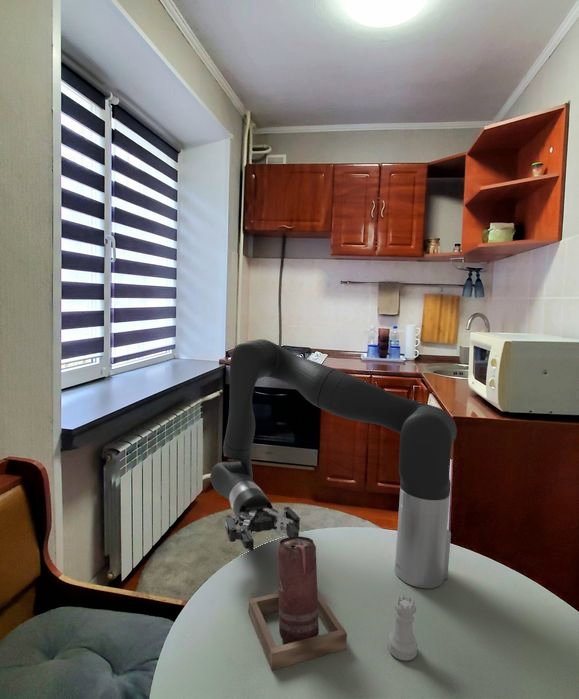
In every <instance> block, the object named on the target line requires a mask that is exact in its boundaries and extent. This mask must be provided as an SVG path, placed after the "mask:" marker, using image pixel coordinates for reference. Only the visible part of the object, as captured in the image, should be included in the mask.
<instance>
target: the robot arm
mask: <svg viewBox="0 0 579 699" xmlns="http://www.w3.org/2000/svg"><path fill="white" fill-rule="evenodd" d="M229 361H230V362H229V364H230V365H229V402H228V403H229V404H228V405H229V408H228V418H227V424H226V430H225V436H224V441H223V442H224V443H223V448H222V451H223V453H224V456H225V457H227V458H229V459H232V460H234V461H220V462H218V463H216V464H215V465H214V466H213V467H212V469H211V471H210V474H209V476H210V482H211V485H212V487H213V489H214V491H215V492H216V493H218V495H221V497H224V499H227V500H228V502H229V503H230V508H231V510H232V512H233V513H234V515H235V517H233V516H232V514H226V515H225V519H224V520H225V522H224V523H225V525H224V528H225V532H226V536H227V537H228V541H229V542H231V543H233V542H234V543H235V542H236V540H239V542H241V544H242V546H243V549H245V550H248V552H253V551H254V538H253V536H252V535H253V534H254V533H260V532H264V531H266V532H267V531H271V532H274V533H277V534H280V533H284V534H286V535H287V538H288V537H300V526H301V525H300V521H301V517H300V516H298V514H297V513H296V512H295V511H294V510H293V509H292V508H291V507H289V506H285V507H284V509H283V510H280V511H278V510H277V509H276V508H274V507H273V505H272V503H271V501H270V500H269V498H268V497H267V496H266V494H265V493H264V491H263V490H262V489H261V488H260V487H259V486H258V485H257V484H256V483H255V481H254V480H253V479H254V478H253V477H254V474H253V468H252V449H253V443H254V438H255V433H256V418H255V413H254V410H253V394H254V390H255V386H256V384H257V380H260V379H261V378H265V377H266V378H267V377H268V378H271V379H274V380H275V379H276V380H278V381H280V382H283V383H286V384H288V385H290V386H291V387H293V388H294V389H296V390H297V391H298V393H300V394H301V396H303V398H305V399H306V401H308V402H309V403H310V404H312V405H313V406H315V407H317V408H319V409H321V410H323V411H325V412H327V413H330V414H332V415H334V416H338V417H340V418H344V419H346V420H352V421H357V422H362V423H366V424H367V423H368V424H374V425H378V426H381V427H384V428H387V429H389V430H391V431H393V432H395V433H397V434H399V435H400V438H399V455H398V457H399V459H398V474H399V477H400V483H399V484H400V490H399V502H398V505H399V506H398V515H397V516H398V519H397V532H396V548H395V549H396V550H395V561H394V562H395V563H394V572H395V574H396V575H397V577H398V578H399V579H400V580H401V581H403V582H405V583H406V584H408V585H410V586H413V587H416V588H421V589H435V588H438V587H439V586H442V584H443V582H444V580H447V579H448V577H449V576H448V575H449V564H450V553H451V551H450V550H451V538H452V532H451V531H450V530H449V529H448V524H449V523H448V522H449V512H450V497H451V486H452V483H451V480H450V470H451V457H452V456H451V454H452V446H453V444H454V442H455V440H456V438H457V434H458V428H457V424H456V422H455V420H454V419H453V417H452V416H451V415H450V413H448V412H447V410H444V409H442V408H441V407H438V406H435V405H431V404H428V403H424V402H421V401H420V402H419V401H416V400H413V399H410V398H406V397H403V396H399V395H397V394H394V393H391V392H389V391H387V390H385V389H382V388H381V387H379V386H376V385H374V384H372V383H370V382H367V381H365V380H362V379H360V378H358V377H357V376H353V375H351V374H349V373H346V372H344V371H341V370H339V369H336V368H333V367H330V366H328V365H324V364H321V363H320V362H317V361H314V360H311V359H307V358H305V357H301V356H300V355H297V354H295V353H293V352H291V351H289V350H288V349H286V348H284V347H282V346H281V345H278V344H276V343H274V342H272V341H270V340H268V339H265V338H264V339H263V338H261V339H260V338H259V339H254V340H246V341H242V342H240V343H238V344H236V346H235V347H234V348H233V350H232V352H231V355H230V360H229ZM235 460H236V461H235ZM284 524H286V527H285V526H284ZM237 525H238V526H239V528H237Z"/></svg>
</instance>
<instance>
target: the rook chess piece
mask: <svg viewBox="0 0 579 699" xmlns="http://www.w3.org/2000/svg"><path fill="white" fill-rule="evenodd" d="M393 606H394V607H393V608H394V609H395V610H396V611H395V612H394V617H395V623H394V628H393V629H391V632H390V633H389V634H388V638H387V644H386V645H387V649H388V651H389V652H390V653H391V655H392V656H393V657H394V658H395V659H397V660H400V661H402V662H403V661H404V662H409V661H411V660H413V659H415V658H416V656H417V655H418V643H417V639H416V638H415V635H414V629H413V622H414V620H415V617H414V614H415V613H417V608H416V607H417V606H416V605H415V601H414V600H412V598H411V597H409V596H408V597H407V598H406V596H405V595H401V597H400V596H397V597H396V601H395V602H394V604H393Z"/></svg>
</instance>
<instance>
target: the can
mask: <svg viewBox="0 0 579 699" xmlns="http://www.w3.org/2000/svg"><path fill="white" fill-rule="evenodd" d="M276 552H277V582H278V583H277V586H278V587H277V588H278V590H277V591H278V592H277V593H278V594H279V611H278V623H279V624H278V627H279V628H278V629H279V635H280V637H281V638H282V640H283V642H285V644H288V643H292V642H296V641H300V640H304V639H307V638H311V637H315V636H319V634H320V633H319V632H320V629H319V616H318V595H317V590H318V573H317V571H318V570H317V547H316V544H315V542H314V540H313V539H312V538H310V537H307V536H299V537H288V536H287V537H285V538H283V539H280V541H279V544H278V546H277V550H276Z"/></svg>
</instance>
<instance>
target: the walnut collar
mask: <svg viewBox="0 0 579 699" xmlns="http://www.w3.org/2000/svg"><path fill="white" fill-rule="evenodd" d="M317 595H318V619H320V621H321V623H322V624H323V626H324V627H325V629H326V630H327V633H326V632H325V633H323V634H318V635H317V636H315V637H311V638H307V639H304V640H300V641H296V642H292V643H285V644H282V645H278V646H277V645H276V643H275V641H274V638H273V636H272V634H271V632H270V629H269V627H268V625H267V623H266V620H265V619H264V615H265V614H270V613H275V612H279V594H278V592H276V593H271V594H267V595H266V594H265V595H262V596H257V597H253V598H248V609H247V614H248V613H249V614H248V617H249V618H251V619H250V620H251V621H250V622H251V623H253V624H252V626H253V629H254V628H255V629H254V630H255V633H256V635H257V638H258V640H259V643H260V646H261V648H262V650H263V654H264V656H265V658H266V661H267V663H268V665H269V668H270V670H271V671H273V670H278V669H281V668H283V667H288V666H291V665H294V664H299V663H302V662H305V661H308V660H312V659H315V658H319V657H323V656H326V655H330V654H334V653H336V652H340V651H344V650H347V637H348V632H346V631H347V630H345V628H344V626H342V624H341V623H340V621H339V619H338V618H337V617H336V615H335V614H334V613H333V611H332V609H331V608H330V607H329V604H328V603H327V602H326V600H325V599H324V598H323V596H322V595H321V593H320V591H318V589H317Z"/></svg>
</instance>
